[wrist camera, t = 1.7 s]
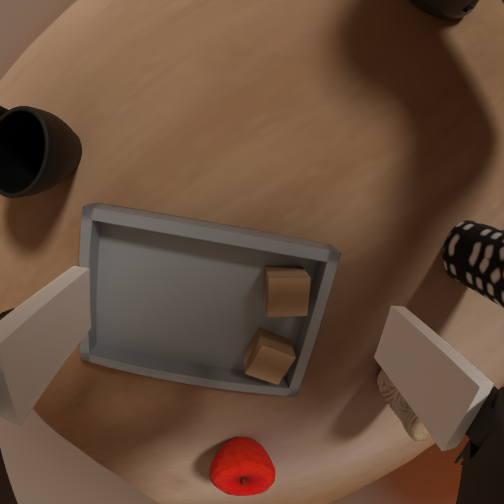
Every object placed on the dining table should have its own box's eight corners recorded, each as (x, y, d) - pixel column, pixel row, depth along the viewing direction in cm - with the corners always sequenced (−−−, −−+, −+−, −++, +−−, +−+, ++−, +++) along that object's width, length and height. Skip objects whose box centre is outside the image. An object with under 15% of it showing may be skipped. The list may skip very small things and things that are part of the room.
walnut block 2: (258, 327, 36) (262, 345, 32) (289, 339, 36) (296, 357, 32) (243, 354, 36) (245, 373, 33) (273, 365, 37) (277, 384, 33)
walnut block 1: (264, 265, 34) (269, 277, 30) (301, 265, 34) (310, 277, 30) (263, 300, 35) (267, 316, 31) (299, 300, 35) (307, 315, 31)
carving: (379, 398, 41) (413, 453, 30) (368, 365, 39) (406, 422, 28) (415, 378, 41) (455, 427, 29) (407, 342, 39) (453, 392, 27)
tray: (96, 202, 32) (82, 206, 28) (330, 244, 35) (340, 252, 31) (90, 345, 36) (80, 359, 32) (291, 379, 39) (296, 396, 35)
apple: (204, 456, 42) (202, 495, 34) (220, 422, 40) (220, 463, 32) (258, 466, 43) (262, 503, 36) (279, 433, 41) (288, 472, 34)
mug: (47, 86, 28) (1, 68, 18) (106, 148, 30) (65, 143, 21) (8, 140, 29) (-41, 138, 19) (62, 204, 31) (15, 217, 22)
